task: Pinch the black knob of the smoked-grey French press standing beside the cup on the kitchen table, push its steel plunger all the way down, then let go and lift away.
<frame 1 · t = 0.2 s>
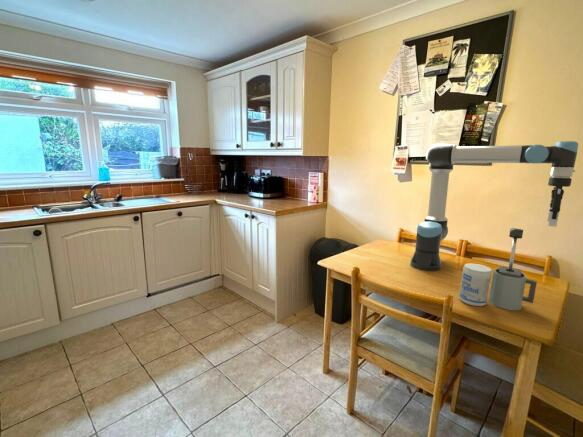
hand: (551, 223, 136), 28 cm above the table, fingers open, 13 cm apart
supplement tub: (472, 301, 120), on the table
press carafe: (504, 303, 118), on the table
plunger: (512, 255, 114), point 20 cm above the table, slide at 0.0 cm
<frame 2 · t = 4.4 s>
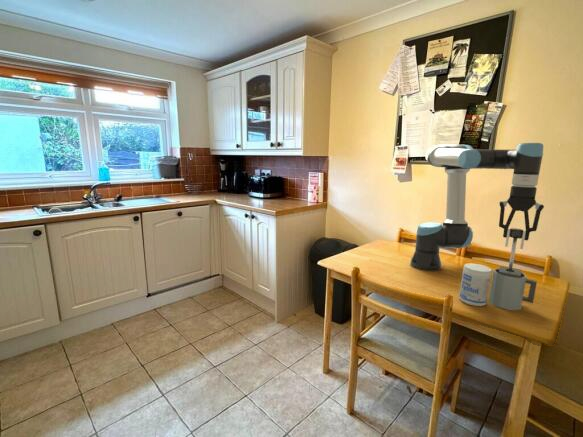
hand: (513, 246, 114), 24 cm above the table, fingers closed on plunger, 4 cm apart
plunger: (512, 255, 114), point 20 cm above the table, slide at 0.0 cm, touching gripper
everything else where it was.
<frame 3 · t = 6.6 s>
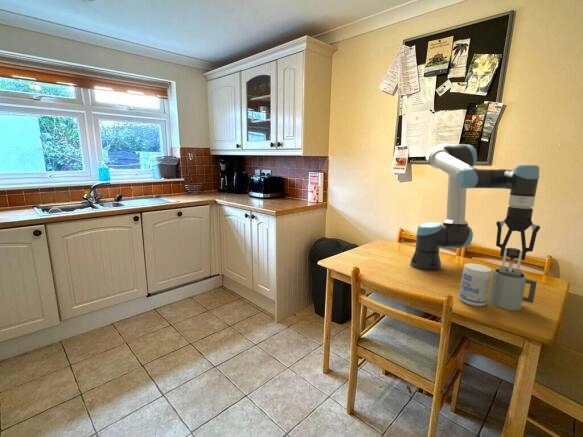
hand: (510, 266, 115), 16 cm above the table, fingers closed on plunger, 4 cm apart
plunger: (509, 274, 116), point 13 cm above the table, slide at 7.8 cm, touching gripper
everything else where it was.
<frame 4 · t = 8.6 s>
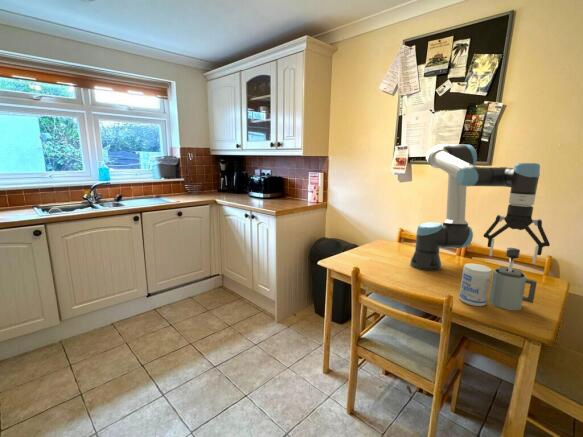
hand: (511, 259, 115), 19 cm above the table, fingers open, 13 cm apart
plunger: (509, 274, 116), point 12 cm above the table, slide at 7.8 cm
everything else where it was.
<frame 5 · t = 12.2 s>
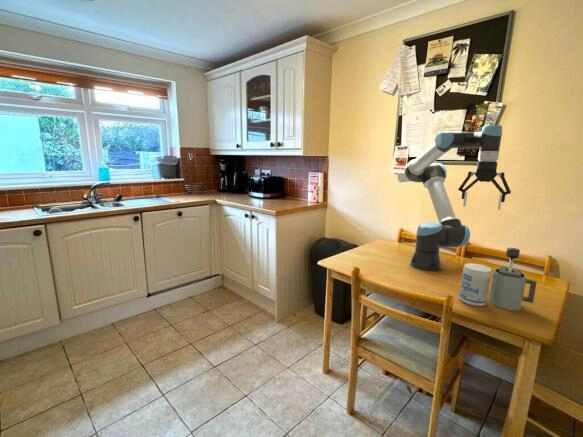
hand: (481, 207, 137), 35 cm above the table, fingers open, 13 cm apart
nothing on the table moved.
at the end: plunger slide at 7.8 cm; the gripper is holding nothing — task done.
